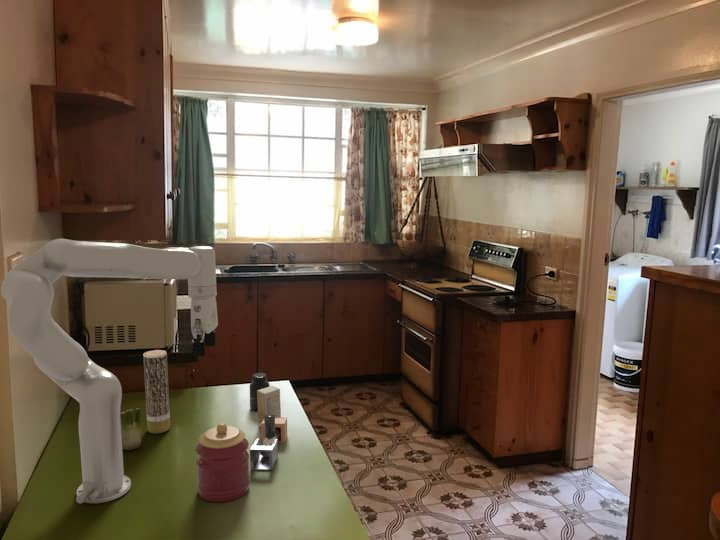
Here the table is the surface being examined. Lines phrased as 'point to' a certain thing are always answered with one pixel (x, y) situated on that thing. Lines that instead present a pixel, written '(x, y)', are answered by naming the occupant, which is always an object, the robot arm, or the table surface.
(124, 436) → the fennel bulb
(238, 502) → the table surface
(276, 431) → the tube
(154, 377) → the paper tube
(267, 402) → the skincare box
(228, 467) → the canister
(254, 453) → the sleeve
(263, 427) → the socket
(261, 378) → the supplement bottle
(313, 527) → the table surface
